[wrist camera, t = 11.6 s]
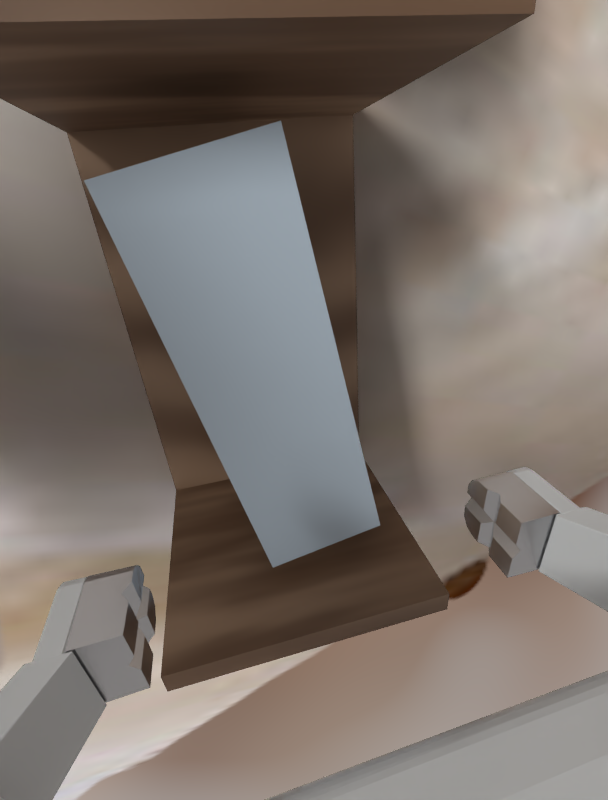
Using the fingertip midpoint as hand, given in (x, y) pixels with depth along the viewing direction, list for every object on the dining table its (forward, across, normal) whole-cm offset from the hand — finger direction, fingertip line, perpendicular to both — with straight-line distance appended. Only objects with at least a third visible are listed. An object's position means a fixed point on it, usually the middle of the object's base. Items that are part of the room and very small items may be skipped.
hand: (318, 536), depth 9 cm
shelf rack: (+18, 0, 0) cm, 18 cm away
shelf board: (+11, 0, 0) cm, 11 cm away
